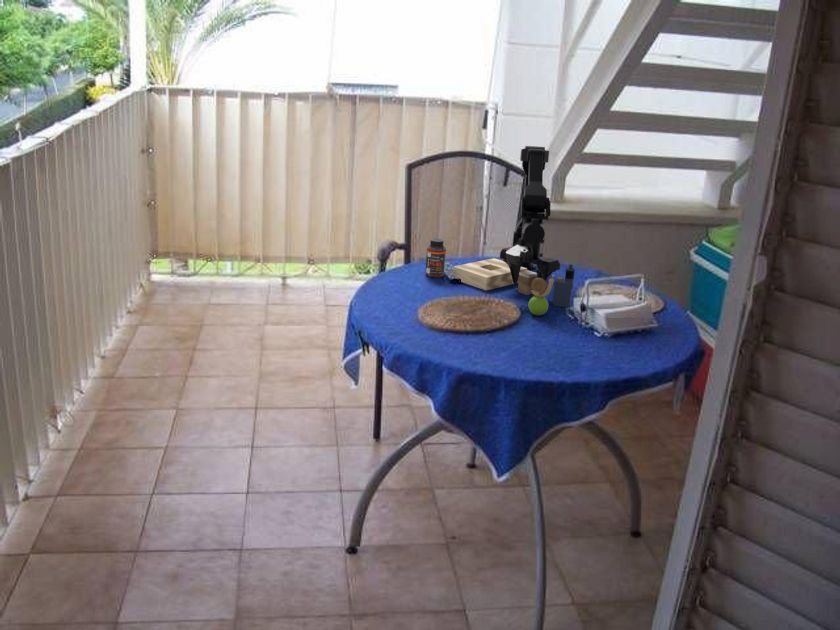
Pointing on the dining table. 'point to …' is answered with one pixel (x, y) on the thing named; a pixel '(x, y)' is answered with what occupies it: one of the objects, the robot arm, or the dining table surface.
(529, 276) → the peg
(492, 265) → the socket board
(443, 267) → the supplement bottle
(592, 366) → the dining table surface
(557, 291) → the vaping device
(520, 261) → the robot arm
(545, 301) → the snail figurine
